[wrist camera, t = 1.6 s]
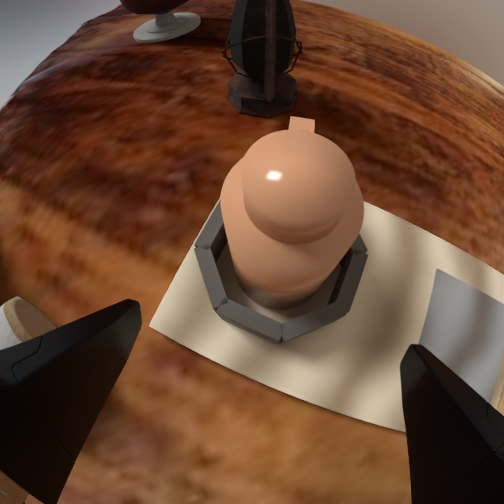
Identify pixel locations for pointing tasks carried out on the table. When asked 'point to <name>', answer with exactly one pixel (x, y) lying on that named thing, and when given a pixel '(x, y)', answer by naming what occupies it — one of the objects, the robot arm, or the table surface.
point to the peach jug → (290, 214)
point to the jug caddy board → (347, 319)
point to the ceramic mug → (21, 322)
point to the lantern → (262, 57)
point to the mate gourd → (161, 20)
